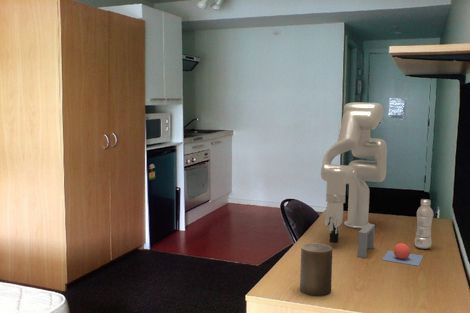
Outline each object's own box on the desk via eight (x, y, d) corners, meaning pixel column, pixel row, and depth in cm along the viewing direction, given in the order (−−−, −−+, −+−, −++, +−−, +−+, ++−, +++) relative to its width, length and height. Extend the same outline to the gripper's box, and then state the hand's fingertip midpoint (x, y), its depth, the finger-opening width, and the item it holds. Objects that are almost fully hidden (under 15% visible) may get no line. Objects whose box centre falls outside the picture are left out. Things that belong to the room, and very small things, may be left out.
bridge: (357, 256, 181) (358, 231, 180) (366, 246, 194) (367, 223, 193) (365, 258, 179) (366, 233, 178) (373, 247, 192) (374, 224, 191)
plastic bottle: (411, 248, 193) (414, 199, 191) (418, 244, 198) (421, 197, 196) (427, 251, 189) (430, 202, 187) (433, 248, 194) (436, 200, 192)
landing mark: (388, 250, 189) (388, 250, 189) (423, 256, 183) (423, 255, 183) (381, 260, 177) (381, 259, 177) (418, 266, 171) (418, 265, 171)
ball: (413, 244, 179) (410, 259, 180) (397, 240, 182) (394, 255, 183) (409, 247, 174) (406, 262, 175) (393, 242, 178) (390, 257, 178)
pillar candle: (336, 295, 144) (338, 246, 142) (305, 297, 142) (307, 248, 140) (323, 283, 153) (325, 238, 152) (295, 285, 151) (296, 239, 150)
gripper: (332, 194, 199) (330, 236, 201) (320, 200, 186) (319, 245, 188) (349, 196, 195) (347, 239, 198) (339, 202, 182) (337, 248, 184)
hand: (333, 242), depth 193 cm, fingers closed
